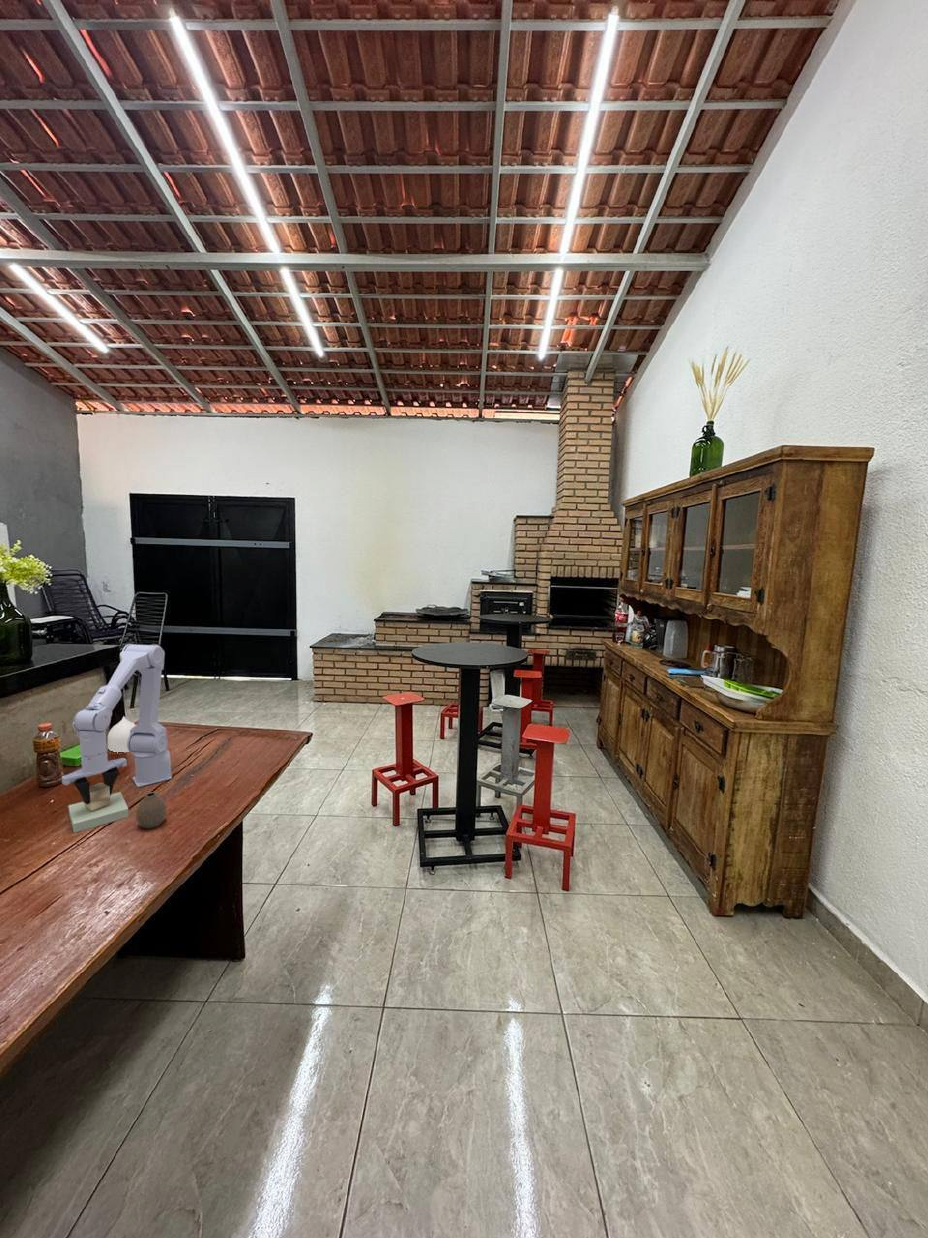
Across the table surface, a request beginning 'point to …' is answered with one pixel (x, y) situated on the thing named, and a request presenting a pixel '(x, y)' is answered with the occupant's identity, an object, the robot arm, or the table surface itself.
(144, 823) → the vase
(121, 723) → the teardrop
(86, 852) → the table surface
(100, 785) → the beech block
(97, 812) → the base slab
